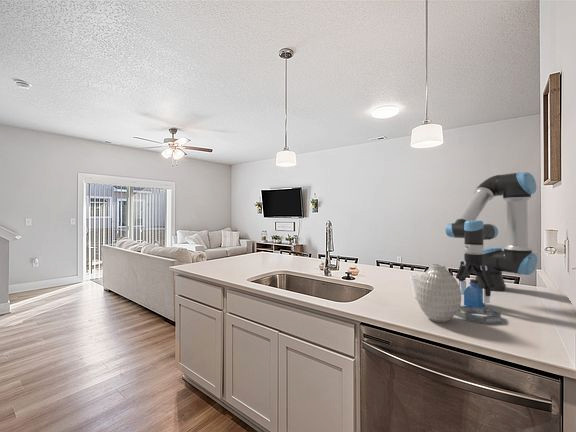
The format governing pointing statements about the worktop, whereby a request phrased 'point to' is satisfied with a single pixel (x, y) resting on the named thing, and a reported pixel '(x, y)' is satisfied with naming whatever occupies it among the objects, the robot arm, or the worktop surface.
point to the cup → (414, 283)
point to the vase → (438, 294)
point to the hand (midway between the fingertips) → (474, 298)
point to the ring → (491, 316)
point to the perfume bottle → (473, 294)
